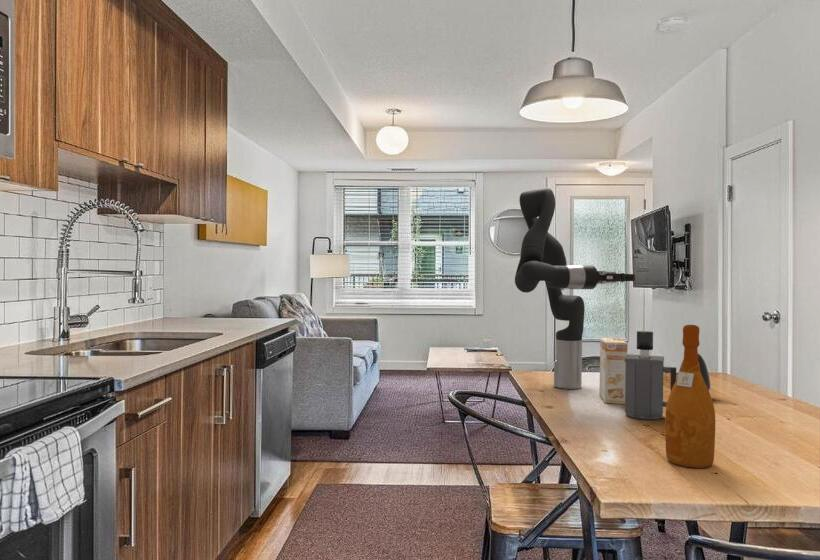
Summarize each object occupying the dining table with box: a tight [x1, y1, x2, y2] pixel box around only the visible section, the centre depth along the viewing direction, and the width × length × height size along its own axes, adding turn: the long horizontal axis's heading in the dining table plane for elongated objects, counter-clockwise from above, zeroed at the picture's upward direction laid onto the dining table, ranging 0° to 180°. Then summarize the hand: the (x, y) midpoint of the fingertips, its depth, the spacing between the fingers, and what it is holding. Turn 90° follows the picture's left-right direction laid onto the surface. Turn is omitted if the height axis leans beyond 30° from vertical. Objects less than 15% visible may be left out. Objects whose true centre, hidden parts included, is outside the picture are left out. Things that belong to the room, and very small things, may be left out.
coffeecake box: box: [598, 337, 629, 405], centre depth 198 cm, size 15×7×20 cm, turn 168°
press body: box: [624, 353, 677, 421], centre depth 173 cm, size 13×10×17 cm
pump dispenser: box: [677, 353, 711, 391], centre depth 201 cm, size 10×10×15 cm
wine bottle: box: [664, 324, 716, 469], centre depth 131 cm, size 10×10×30 cm
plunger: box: [636, 330, 654, 358], centre depth 174 cm, size 8×8×23 cm
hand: (626, 277), depth 190 cm, fingers open, 8 cm apart
